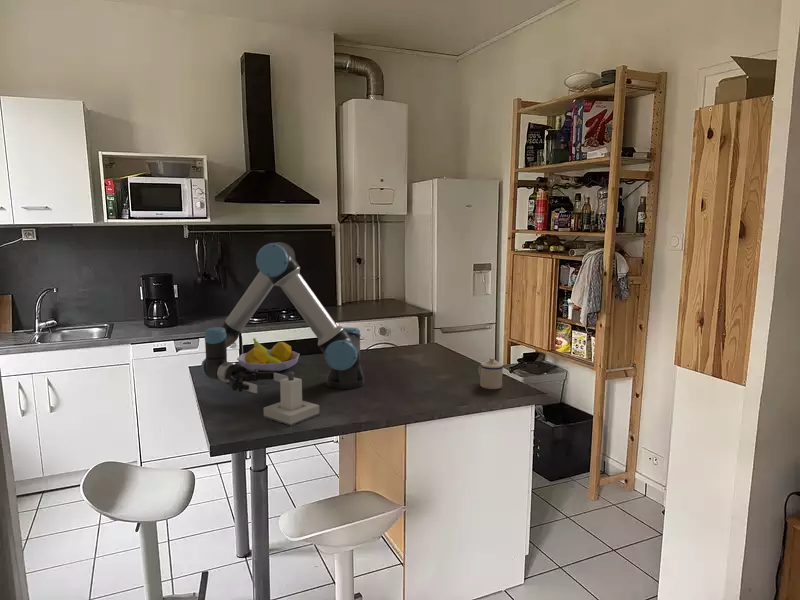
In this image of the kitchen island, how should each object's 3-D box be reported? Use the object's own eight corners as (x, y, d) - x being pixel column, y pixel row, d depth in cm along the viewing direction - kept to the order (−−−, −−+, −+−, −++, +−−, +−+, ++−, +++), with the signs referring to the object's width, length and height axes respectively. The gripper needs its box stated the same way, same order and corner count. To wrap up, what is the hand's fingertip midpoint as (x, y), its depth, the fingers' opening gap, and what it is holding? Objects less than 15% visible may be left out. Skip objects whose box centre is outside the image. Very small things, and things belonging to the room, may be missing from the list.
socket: (255, 415, 185) (255, 405, 185) (284, 404, 196) (284, 395, 195) (290, 426, 175) (290, 416, 175) (319, 415, 186) (319, 405, 185)
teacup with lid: (507, 387, 219) (508, 359, 217) (490, 391, 214) (491, 362, 212) (486, 379, 229) (487, 352, 227) (470, 383, 224) (471, 355, 222)
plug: (280, 414, 184) (280, 372, 182) (292, 410, 188) (291, 369, 186) (291, 417, 181) (290, 375, 179) (302, 413, 185) (301, 372, 183)
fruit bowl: (305, 374, 235) (305, 348, 233) (239, 380, 225) (238, 353, 224) (294, 358, 261) (293, 335, 259) (234, 363, 251) (233, 339, 250)
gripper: (260, 376, 211) (298, 386, 199) (203, 391, 191) (242, 404, 179) (259, 357, 210) (298, 366, 198) (202, 371, 190) (242, 382, 178)
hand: (272, 384), depth 189 cm, fingers open, 13 cm apart
